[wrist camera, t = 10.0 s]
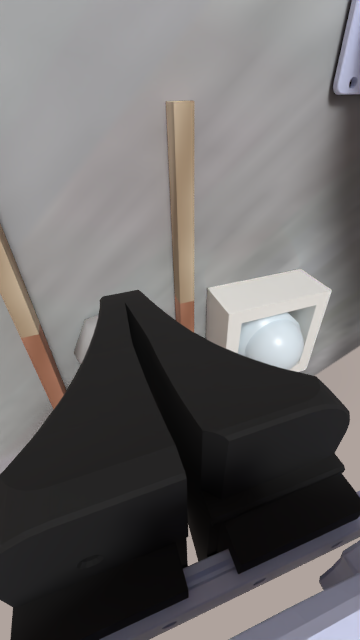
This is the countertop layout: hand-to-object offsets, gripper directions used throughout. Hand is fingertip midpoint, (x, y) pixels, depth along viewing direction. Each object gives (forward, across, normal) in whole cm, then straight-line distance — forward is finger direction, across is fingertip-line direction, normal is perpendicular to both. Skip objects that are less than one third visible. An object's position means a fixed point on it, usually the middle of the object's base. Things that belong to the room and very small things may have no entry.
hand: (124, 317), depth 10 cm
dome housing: (+8, -11, +9) cm, 17 cm away
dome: (+8, -11, +9) cm, 16 cm away
